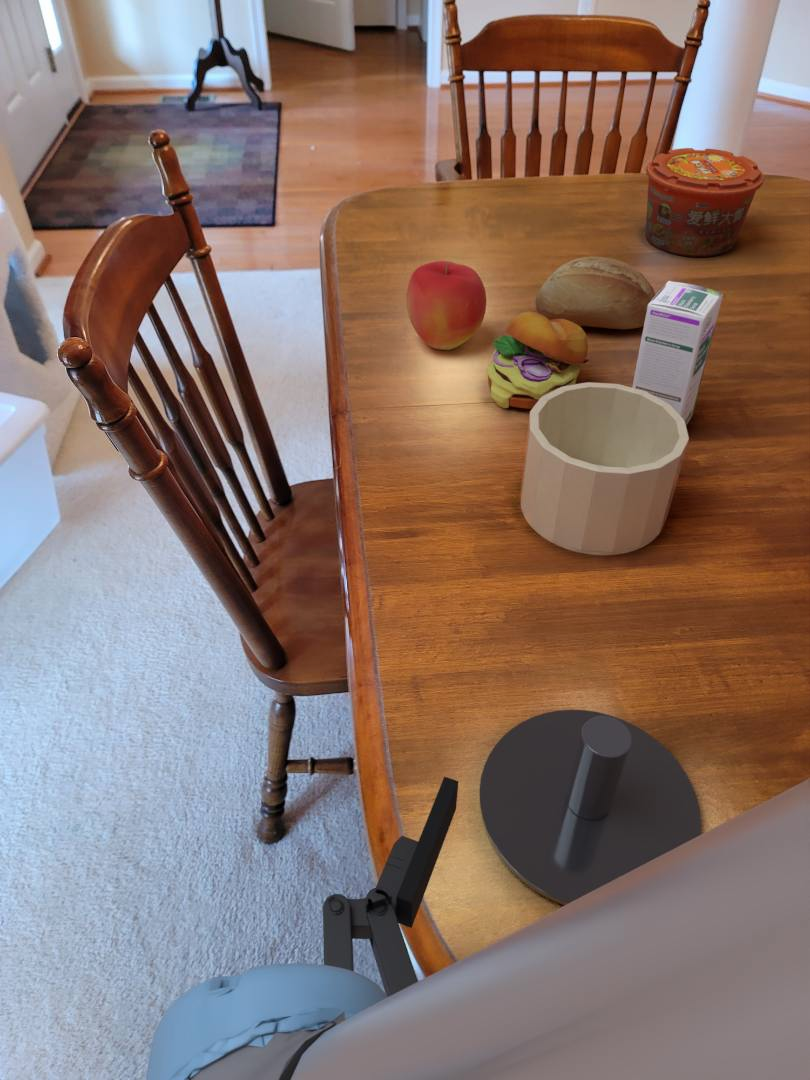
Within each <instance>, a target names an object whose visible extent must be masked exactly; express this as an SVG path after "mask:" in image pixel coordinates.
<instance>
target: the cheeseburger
mask: <svg viewBox="0 0 810 1080" xmlns="http://www.w3.org/2000/svg"><path fill="white" fill-rule="evenodd" d="M505 332H506V334H508V335H503V334H501V335H500V336H499V337H500V338H497V337H495V338H494V341H493V343H492V344H493V345H494V348H495V350H494V351H493V353H492V358H491V359H492V360H491V361H490V363H489V364H488V366H487V368H486V372H487V384H488V388H489V392H490V397H491V398H492V400H493V401H494V403H496V405H497V406H498V407H500V408H503V409H508V408H509V407H513V408H519V409H527V410H529V409H531V410H532V408H533V407H534V406H535V405H536V403H537V402H538V401H539V399H540V398H541V397H542V396H544V395H546V394H548V393H550V392H552V391H554V390H556V389H558V388H560V387H563V386H568V385H574V384H577V377H578V376H579V373H580V370H581V369H580V368H581V367H580V366H586V365H588V364H589V363H590V362H591V361H590V359H589V358H587V356H588V349H589V345H588V337H587V333H586V332H585V330H584V329H583V328H582V326H579V325H577V324H575V323H573V322H571V321H568V320H565V319H553V320H549V319H548V318H546V317H545V316H543V315H541V314H539V313H538V312H537V311H531V310H527V311H524V312H521V313H519V314H518V315H517V316H516V317H514V318H513V319H512V320H511V321H510V322H509V324H508V325H507V327H506V329H505Z"/></svg>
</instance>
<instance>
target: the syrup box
mask: <svg viewBox="0 0 810 1080" xmlns="http://www.w3.org/2000/svg"><path fill="white" fill-rule="evenodd" d="M655 294H656V295H655V297H654V298H653V299H652V300H651V302H650V303H649V304H648V307H647V313H646V318H645V323H644V326H643V329H642V334H641V340H640V345H639V348H638V354H637V359H636V366H635V369H634V374H633V380H632V386H631V388H635V389H639V390H643V391H645V392H648V393H650V394H652V395H653V396H655V397H657V398H659V399H661V400H663V401H665V402H666V403H668V404H670V405H671V406H672V407H673V408H674V409H675V411H676V412H677V413H678V414H679V415H680V416H681V417H682V418H683V419H684V420H685V424H686V426H687V425H688V424H689V422H690V420H691V418H692V417H693V415H694V411H695V408H696V403H697V399H698V397H699V396H698V395H699V391H700V388H701V384H702V380H703V375H704V373H705V372H704V371H705V368H706V363H707V361H708V357H709V352H710V348H711V344H712V339H713V336H714V332H715V328H716V324H717V319H718V316H719V312H720V308H721V304H722V301H723V296H724V295H723V293H722V292H720V291H718V290H714V289H711V288H708V287H704V286H701V285H697V284H691V283H685V282H679V281H672V280H667V282H666V283H665V284H664V286H663V287H662V288H661V289H660V290H659V291H658V292H657V293H655Z"/></svg>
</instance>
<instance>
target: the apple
mask: <svg viewBox="0 0 810 1080" xmlns="http://www.w3.org/2000/svg"><path fill="white" fill-rule="evenodd" d="M405 297H406V300H405V302H406V309H407V310H406V311H407V314H408V315H407V316H408V318H409V321H410V323H411V326H412V328H413V330H414V331H415V332H416V334H417V336H418V337H419V338H420V339H421V340H422V341H423V342H424V343H425V344H427V346H429V347H431V348H433V349H436V350H440V351H450V350H453V349H456V348H458V347H460V346H461V345H462V344H464V343H466V342H468V340H469V339H471V338H472V337H473V336H474V335H475V334H476V333H477V332H478V330H479V329H480V327H481V326H482V324H483V321H484V319H485V315H486V310H487V293H486V287H485V285H484V283H483V281H482V278H481V276H480V275H479V273H477V271H475V269H473V268H472V267H470V266H467V265H465V264H461V263H456V262H454V261H453V262H452V261H448V260H436V261H431V262H427V263H424V264H423V265H420V266H419V267H417V268H415V270H414V271H413V272H412V274H411V276H410V278H409V281H408V285H407V289H406V296H405Z"/></svg>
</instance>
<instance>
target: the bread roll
mask: <svg viewBox="0 0 810 1080" xmlns="http://www.w3.org/2000/svg"><path fill="white" fill-rule="evenodd" d="M656 294H657V293H656V292H655V289H654V287H653V286H652V284H651V283H650V282H649V280H648V279H646V277H645V276H644V274H643V273H641V272H640V271H638V270H637V269H636V268H634V267H633V266H632V265H630V264H628V263H627V262H625V261H623V260H622V261H621V260H618V259H616V258H611V257H602V256H584V257H579V258H578V257H577V258H575V259H572V260H570V261H568V262H566V263H564V264H562V265H560V266H559V267H558V268H557V269H556V270H554V271H553V272H552V274H550V276H549V277H548V279H546V281H545V282H544V283H543V284H542V286H541V287H540V289H539V290H538V292H537V293H536V297H535V308H536V313H539V314H541V315H543V316H545V317H546V318H548V319H549V320H553V319H565V320H568V321H571V322H573V323H575V324H577V325H579V326H580V327H590V328H591V327H592V328H603V329H614V330H615V329H616V330H632V329H633V330H634V329H637V328H638V329H639V328H642V327H644V323H645V318H646V313H647V307H648V304H649V303H650V302H651V300H652V299H653V298H654V297H655V295H656Z"/></svg>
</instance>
